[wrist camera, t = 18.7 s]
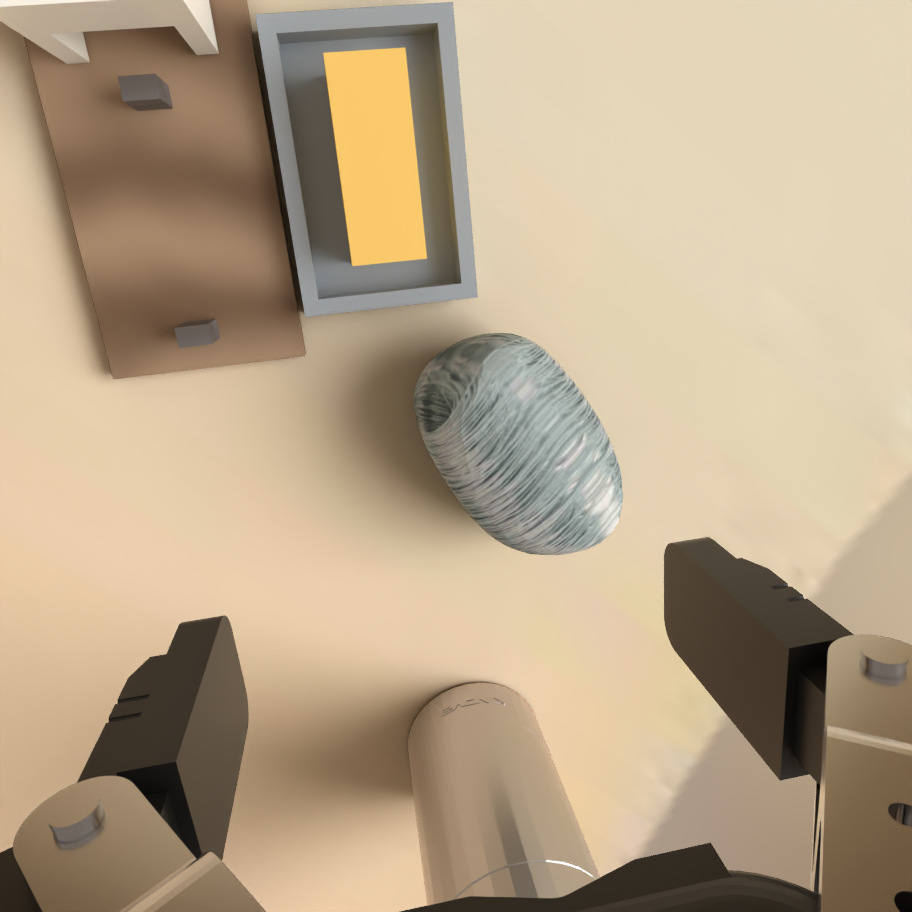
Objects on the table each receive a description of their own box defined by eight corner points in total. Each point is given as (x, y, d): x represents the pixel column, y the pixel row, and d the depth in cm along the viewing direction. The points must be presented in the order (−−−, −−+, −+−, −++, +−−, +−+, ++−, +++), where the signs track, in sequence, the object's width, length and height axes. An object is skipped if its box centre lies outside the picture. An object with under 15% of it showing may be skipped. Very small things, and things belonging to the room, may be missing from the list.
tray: (469, 293, 38) (477, 297, 36) (307, 312, 37) (305, 317, 35) (445, 17, 34) (452, 2, 32) (261, 29, 33) (255, 14, 31)
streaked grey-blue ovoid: (347, 397, 36) (473, 428, 28) (462, 292, 39) (600, 295, 32) (458, 560, 43) (580, 618, 36) (546, 459, 47) (673, 493, 40)
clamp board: (305, 353, 38) (302, 363, 35) (119, 375, 37) (97, 388, 34) (243, -23, 32) (231, -52, 29) (19, -11, 31) (-17, -39, 28)
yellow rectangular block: (418, 256, 37) (427, 258, 33) (351, 263, 36) (352, 266, 32) (398, 69, 34) (405, 47, 30) (325, 74, 34) (323, 52, 30)
